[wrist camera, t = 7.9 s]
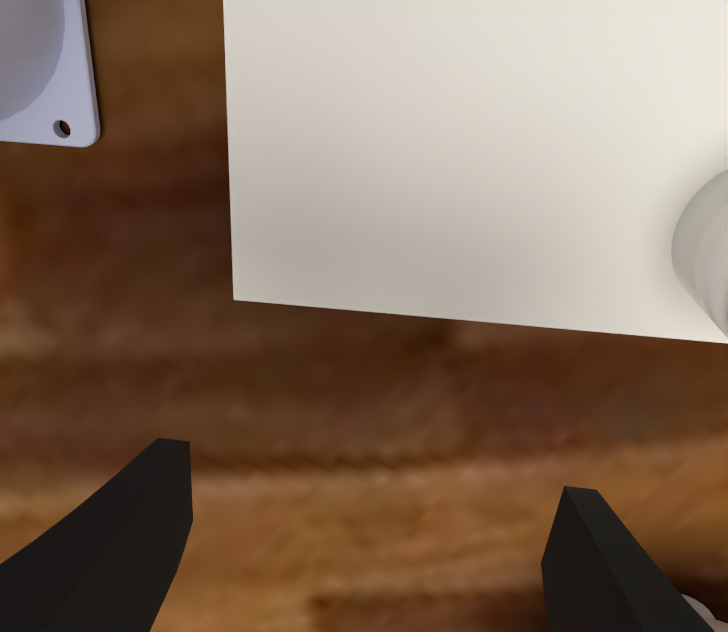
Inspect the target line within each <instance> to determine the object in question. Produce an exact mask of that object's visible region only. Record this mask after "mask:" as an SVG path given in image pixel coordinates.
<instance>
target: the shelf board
mask: <svg viewBox="0 0 728 632" xmlns="http://www.w3.org/2000/svg"><path fill="white" fill-rule="evenodd" d="M223 8H224V37H225V66H226V95H227V124H228V153H229V182H230V211H231V240H232V269H233V297H234V300H242V301H253V302H264V303H276V304H287V305H299V306H310V307H321V308H333V309H344V310H355V311H367V312H378V313H389V314H401V315H412V316H424V317H435V318H446V319H458V320H469V321H480V322H492V323H503V324H514V325H526V326H537V327H549V328H560V329H571V330H583V331H594V332H605V333H617V334H628V335H640V336H651V337H662V338H674V339H685V340H696V341H708V342H719V343H728V338H727V337H726V336H725V335H724V334H723V332H722V331H721V330H720V329H719V328H718V327H717V326H716V324H715V323H714V322H713V321H712V320H711V319H710V317H709V316H708V315H707V314H706V313H705V312H704V311H703V309H702V308H701V307H700V306H699V305H698V304H697V303H696V301H695V300H694V299H693V298H692V297H691V296H690V294H689V293H688V292H687V291H686V290H685V289H684V288H683V286H682V285H681V283H680V282H679V280H678V278H677V276H676V274H675V271H674V268H673V263H672V255H671V248H672V239H673V235H674V231H675V228H676V225H677V223H678V220H679V218H680V216H681V214H682V212H683V211H684V209H685V208H686V206H687V205H688V203H689V202H690V200H691V199H692V198H693V197H694V196H695V195H696V193H697V192H698V191H699V190H700V189H701V188H702V187H703V186H704V185H706V184H707V183H708V182H709V181H710V180H712V179H713V178H714V177H716V176H717V175H719V174H720V173H722V172H724V171H725V170H727V169H728V0H223Z"/></svg>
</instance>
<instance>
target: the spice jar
mask: <svg viewBox="0 0 728 632" xmlns="http://www.w3.org/2000/svg"><path fill="white" fill-rule="evenodd" d="M671 255H672V263H673V268H674V271H675V274H676V276H677V278H678V280H679V282H680V283H681V285H682V286H683V288H684V289H685V290H686V291H687V292H688V293H689V294H690V296H691V297H692V298H693V299H694V300H695V301H696V303H697V304H698V305H699V306H700V307H701V308H702V309H703V311H704V312H705V313H706V314H707V315H708V316H709V317H710V319H711V320H712V321H713V322H714V323H715V324H716V326H717V327H718V328H719V329H720V330H721V331H722V332H723V334H724V335H725V336H726V337H727V338H728V169H727V170H725V171H724V172H722V173H720V174H719V175H717V176H716V177H714V178H713V179H712V180H710V181H709V182H708V183H707V184H706V185H704V186H703V187H702V188H701V189H700V190H699V191H698V192H697V193H696V195H695V196H694V197H693V198H692V199H691V200H690V202H689V203H688V205H687V206H686V208H685V209H684V211H683V212H682V214H681V216H680V218H679V220H678V223H677V225H676V228H675V231H674V235H673V239H672V248H671Z"/></svg>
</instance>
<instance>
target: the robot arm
mask: <svg viewBox="0 0 728 632" xmlns="http://www.w3.org/2000/svg"><path fill="white" fill-rule="evenodd" d="M61 120H62V121H65V122H66V123H67V124H68V125H69V127H70V129H71V132H70V135H66V134H64V133H63V132H62V131H61V129H60V126H59V125H60V121H61ZM99 136H100V123H99V115H98V107H97V99H96V91H95V82H94V74H93V66H92V58H91V50H90V42H89V34H88V26H87V17H86V9H85V1H84V0H0V141H9V142H22V143H34V144H47V145H59V146H72V147H88V146H90V145H92V144H93V143H95V142H96V141H97V140H98V138H99ZM192 522H193V510H192V487H191V464H190V442H189V441H180V440H172V439H163V438H158V439H156V440H155V441H154V442H152V443H151V444H150V445H149V446H148V447H147V448H145V449H144V450H143V451H142V452H141V453H140V454H139V455H138V456H136V457H135V458H134V459H133V460H132V461H131V462H130V463H129V464H127V465H126V466H125V467H124V468H123V469H122V470H121V471H120V472H118V473H117V474H116V475H115V476H114V477H113V478H112V479H110V480H109V481H108V482H107V483H106V484H105V485H103V486H102V487H101V488H100V489H99V490H97V491H96V492H95V493H94V494H93V495H91V496H90V497H89V498H88V499H87V500H85V501H84V502H83V503H82V504H81V505H79V506H78V507H77V508H76V509H75V510H73V511H72V512H71V513H70V514H68V515H67V516H66V517H64V518H63V519H62V520H60V521H59V522H58V523H56V524H55V525H54V526H53V527H51V528H50V529H49V530H47V531H46V532H45V533H43V534H42V535H41V536H39V537H38V538H37V539H35V540H34V541H33V542H31V543H30V544H29V545H27V546H26V547H24V548H23V549H22V550H20V551H19V552H17V553H16V554H14V555H13V556H12V557H10V558H9V559H7V560H6V561H4V562H3V563H1V564H0V632H149V631H150V629H151V627H152V625H153V623H154V621H155V618H156V616H157V614H158V612H159V610H160V607H161V605H162V603H163V601H164V599H165V596H166V594H167V592H168V590H169V588H170V585H171V583H172V581H173V579H174V576H175V574H176V572H177V569H178V566H179V563H180V560H181V557H182V554H183V551H184V548H185V545H186V542H187V538H188V535H189V532H190V529H191V525H192ZM541 567H542V576H543V586H544V595H545V603H546V611H547V618H548V622H549V627H550V631H551V632H715V631H714V630H713V629H712V628H711V626H710V625H709V624H708V623H707V622H706V621H705V620H704V619H703V618H702V617H701V616H700V615H699V613H698V612H697V611H696V610H695V609H694V608H693V607H692V606H691V605H690V604H689V603H688V602H687V600H686V599H685V598H684V597H683V596H682V595H681V594H680V592H679V591H678V590H677V589H676V588H675V587H674V586H673V584H672V583H671V582H670V581H669V580H668V579H667V577H666V576H665V575H664V574H663V573H662V571H661V570H660V569H659V568H658V567H657V565H656V564H655V563H654V562H653V561H652V559H651V558H650V557H649V556H648V554H647V553H646V552H645V551H644V549H643V548H642V547H641V546H640V544H639V543H638V542H637V541H636V539H635V538H634V537H633V536H632V534H631V533H630V532H629V530H628V529H627V528H626V527H625V525H624V524H623V523H622V522H621V520H620V519H619V518H618V516H617V515H616V514H615V513H614V511H613V510H612V509H611V507H610V506H609V505H608V504H607V502H606V501H605V500H604V498H603V497H602V496H601V495H600V493H599V492H598V491H597V490H594V489H586V488H577V487H569V486H564V489H563V492H562V495H561V499H560V502H559V505H558V509H557V512H556V515H555V519H554V522H553V525H552V528H551V532H550V535H549V538H548V542H547V545H546V548H545V552H544V555H543V558H542V562H541Z"/></svg>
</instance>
